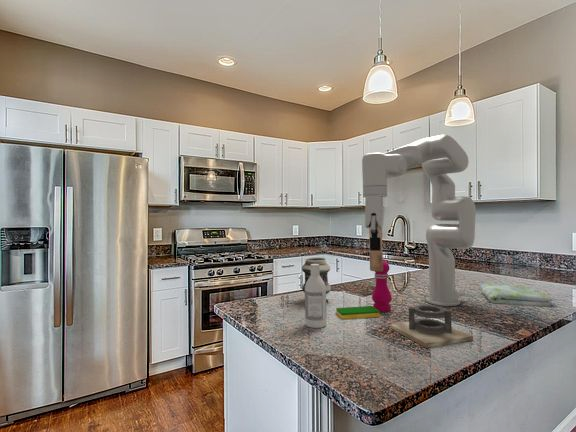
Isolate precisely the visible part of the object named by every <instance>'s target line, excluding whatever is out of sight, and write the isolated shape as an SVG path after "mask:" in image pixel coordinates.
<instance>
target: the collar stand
mask: <svg viewBox="0 0 576 432" xmlns="http://www.w3.org/2000/svg"><path fill="white" fill-rule="evenodd" d="M415 315H416V316H418V317H421V318H418V319H415ZM442 318H444V322H443V321H440V320H438V319H442ZM452 322H453V321H452V310H451V309H450V308H449V309H448V308H443V307H442V306H441V307H440V306H439V305H433V304H419V305H416V306H408V322H401V323H399V322H398V323H395V324H393V323H392V324H390V329H391V330H393V331H395V332H396V333H398V334H400V335H403V336H404V337H406V338H407V339H409V340H411V341H413V342H414V343H416V344H419V345H420V346H422V347H423V348H427V349H428V348H434V347H440V346H446V345H452V344H457V343H458V344H459V343H464V342H471V341H474V335H471V334H470V333H468V332H465V331H463V330H460V329H458V328H455V327H453V326H452V325H453V323H452Z"/></svg>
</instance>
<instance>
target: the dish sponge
mask: <svg viewBox="0 0 576 432" xmlns="http://www.w3.org/2000/svg"><path fill="white" fill-rule="evenodd" d="M335 309H336V310H335V313H336V315H337V316H338V317H339V318H340V319H341V320H350V319H351V320H352V319H365V318H366V319H368V318H379V317H380V311H378V310H377V309H376V308H374V307H373V305H367V306H365V305H364V306H352V307H351V306H350V307H337V308H335Z"/></svg>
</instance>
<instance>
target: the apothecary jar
mask: <svg viewBox="0 0 576 432" xmlns="http://www.w3.org/2000/svg"><path fill="white" fill-rule="evenodd" d="M311 264H319V275H320V277H321V278H322V280H323V282H324V284H325V287H326V295H327V294H329V293H330V292H331V290H332V287H331V284H329V280H328V279H329V278H328V273H329V272H330V270H331V266H330V265H329V263H327V259H326V257H325V258H324V257H308V258H306V259H305V262H304V264H303V265H302V267H301V270H302V272H303V273H304V283H303V284H302V286H301V289H302V292H303V293H304V294H305V285H306V282H307V281H308V279H309V277H310V276H311V268H310V265H311ZM328 303H329V299H327V298H326V304H328Z"/></svg>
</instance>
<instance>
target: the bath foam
mask: <svg viewBox="0 0 576 432" xmlns="http://www.w3.org/2000/svg"><path fill="white" fill-rule="evenodd" d="M310 268H311V276H310V277H309V279H308V281H307V282H306V285H305V293H304V317H305V319H304V320H305V326H307V327H308V328H312V329H321V328H324V327H326V326H327V303H326V299H327V294H326V287H325V284H324V282H323V280H322V278H321V277H320V275H319V264H311V265H310Z"/></svg>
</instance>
